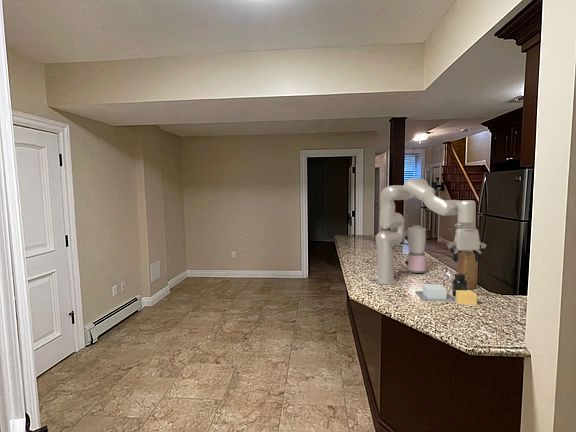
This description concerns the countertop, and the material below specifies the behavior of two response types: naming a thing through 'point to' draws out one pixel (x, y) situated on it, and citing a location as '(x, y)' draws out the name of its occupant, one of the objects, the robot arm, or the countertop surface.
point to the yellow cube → (466, 297)
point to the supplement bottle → (459, 283)
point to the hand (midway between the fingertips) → (466, 261)
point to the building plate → (424, 298)
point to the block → (468, 268)
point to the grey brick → (434, 291)
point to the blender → (416, 249)
